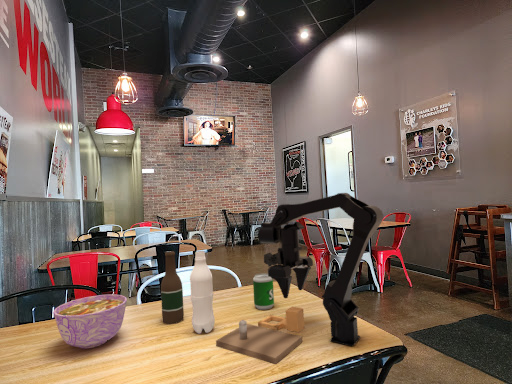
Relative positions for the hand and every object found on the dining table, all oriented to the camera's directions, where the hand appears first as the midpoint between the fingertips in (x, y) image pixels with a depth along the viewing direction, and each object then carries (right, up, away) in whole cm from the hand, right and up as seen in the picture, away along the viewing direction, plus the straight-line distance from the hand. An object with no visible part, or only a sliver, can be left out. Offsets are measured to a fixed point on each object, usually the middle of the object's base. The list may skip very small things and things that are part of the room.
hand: (293, 293), depth 100 cm
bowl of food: (-61, -14, -2) cm, 63 cm away
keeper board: (-11, -11, -9) cm, 18 cm away
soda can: (-9, -12, +21) cm, 26 cm away
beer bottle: (-41, -13, +12) cm, 45 cm away
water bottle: (-28, -13, +2) cm, 31 cm away
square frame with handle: (-3, -11, +2) cm, 12 cm away
